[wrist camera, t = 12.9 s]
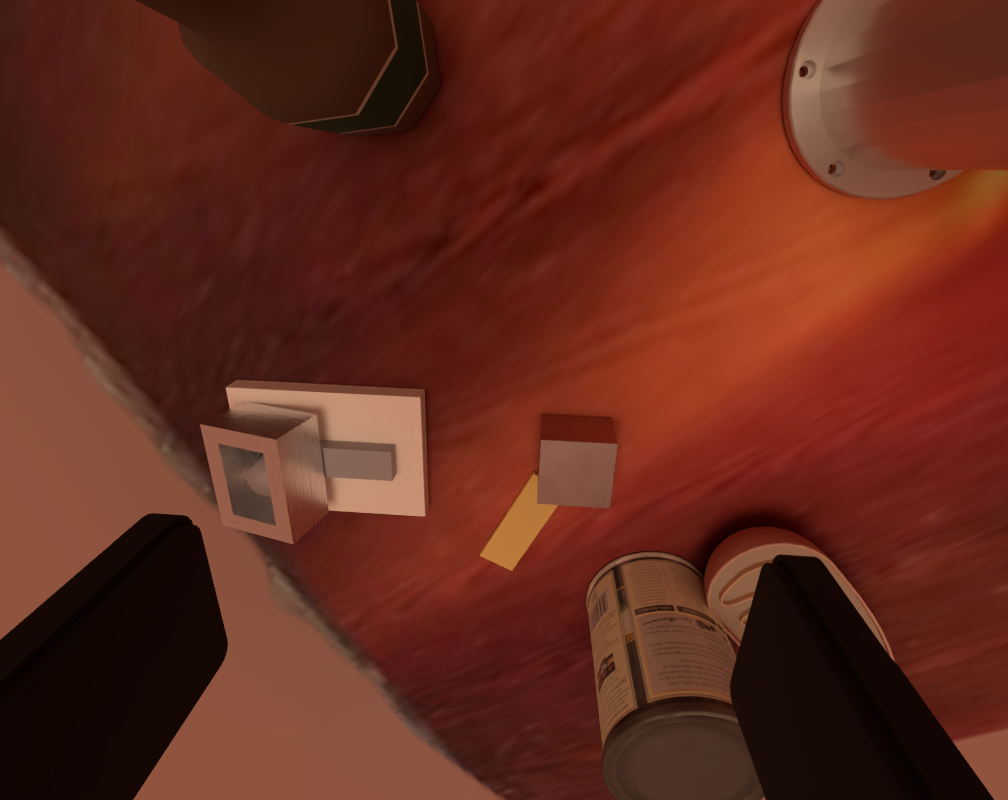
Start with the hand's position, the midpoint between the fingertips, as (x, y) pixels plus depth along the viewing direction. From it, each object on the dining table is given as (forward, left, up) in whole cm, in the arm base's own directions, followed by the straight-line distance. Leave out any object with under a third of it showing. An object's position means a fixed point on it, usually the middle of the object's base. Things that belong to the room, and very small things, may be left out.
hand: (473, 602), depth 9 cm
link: (+17, +13, -26) cm, 34 cm away
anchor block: (-4, +12, -28) cm, 31 cm away
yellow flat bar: (0, +19, -28) cm, 34 cm away
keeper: (+14, +13, -28) cm, 34 cm away
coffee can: (-11, +26, -28) cm, 40 cm away
